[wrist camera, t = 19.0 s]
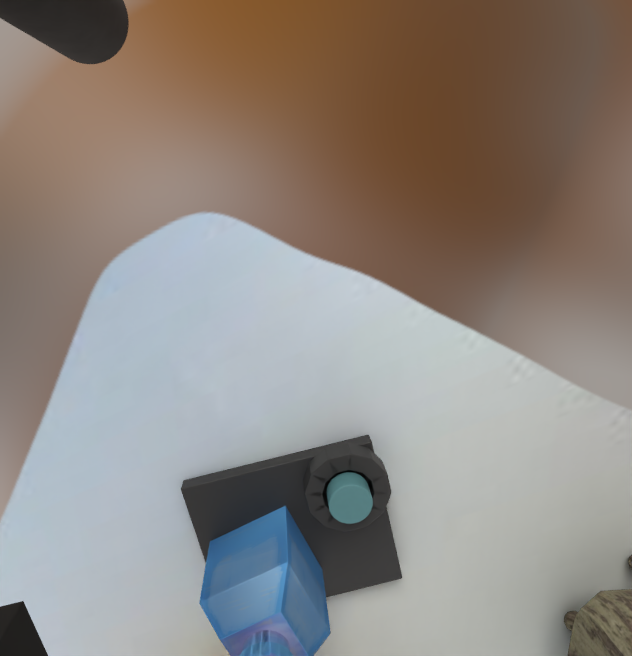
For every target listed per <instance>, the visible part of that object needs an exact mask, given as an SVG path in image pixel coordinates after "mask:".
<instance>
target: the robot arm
mask: <svg viewBox="0 0 632 656" xmlns="http://www.w3.org/2000/svg"><path fill="white" fill-rule="evenodd" d="M0 656H48V655H47V652H46V650H45V648H44V646H43V644H42V641H41V639H40V637H39V635H38V633H37V630H36V628H35V626H34V624H33V622H32V620H31V617H30V615H29V613H28V611H27V609H26V606H25V604H24V602H23V601H22V602H18V603H14V604H10V605H6V606H2V607H0Z"/></svg>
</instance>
